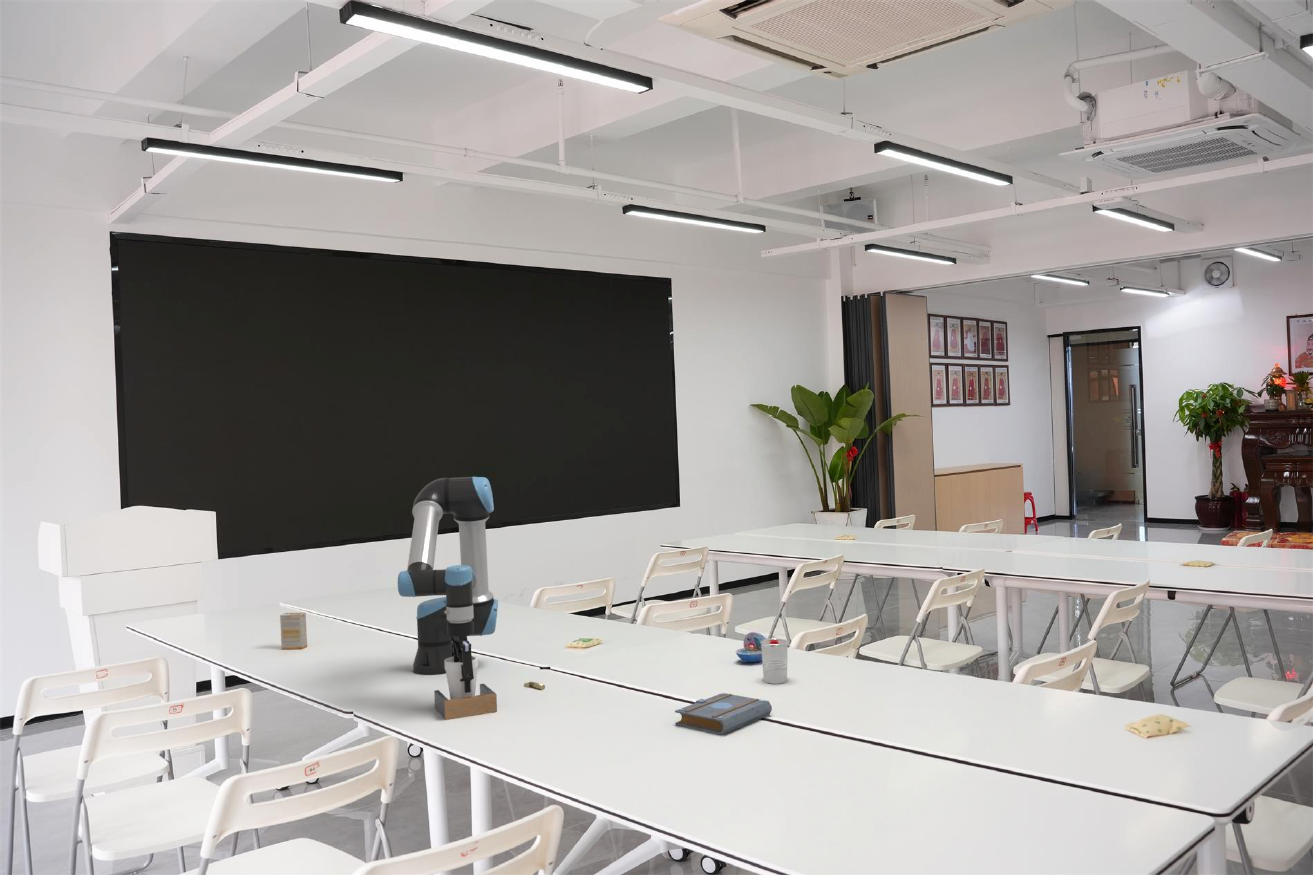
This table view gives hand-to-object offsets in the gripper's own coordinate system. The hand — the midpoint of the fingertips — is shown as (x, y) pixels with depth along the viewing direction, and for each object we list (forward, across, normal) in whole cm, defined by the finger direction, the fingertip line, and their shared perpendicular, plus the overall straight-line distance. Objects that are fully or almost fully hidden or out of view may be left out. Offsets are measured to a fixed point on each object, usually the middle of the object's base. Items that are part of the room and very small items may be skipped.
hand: (462, 699), depth 276 cm
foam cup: (+2, 0, 0) cm, 2 cm away
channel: (+2, +2, 0) cm, 3 cm away
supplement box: (+3, -116, -35) cm, 121 cm away
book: (+3, +50, +57) cm, 76 cm away
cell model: (+3, -2, +97) cm, 97 cm away
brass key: (+2, -9, +25) cm, 27 cm away
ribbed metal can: (+3, +23, +90) cm, 93 cm away
